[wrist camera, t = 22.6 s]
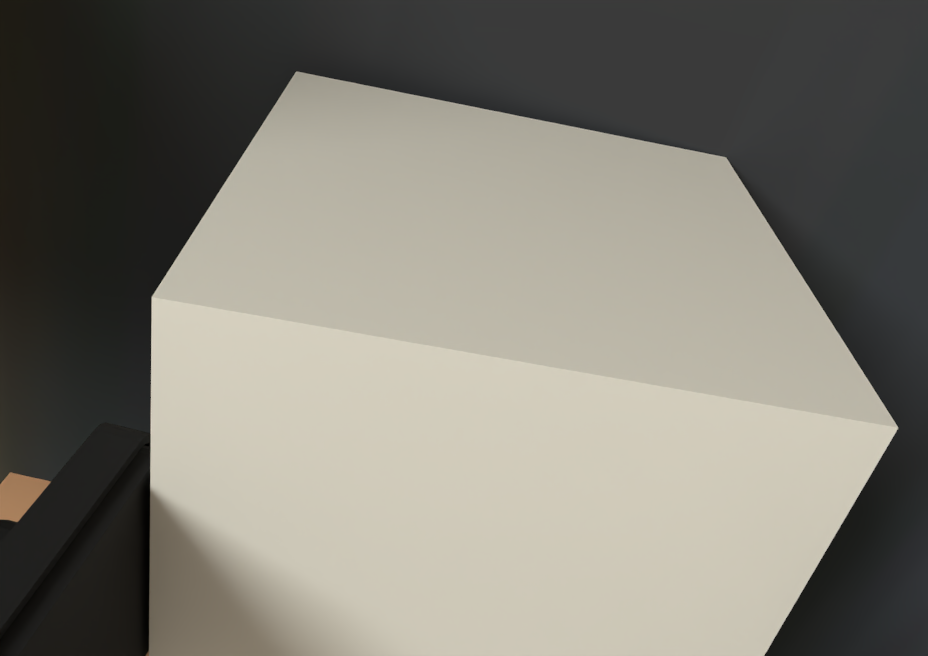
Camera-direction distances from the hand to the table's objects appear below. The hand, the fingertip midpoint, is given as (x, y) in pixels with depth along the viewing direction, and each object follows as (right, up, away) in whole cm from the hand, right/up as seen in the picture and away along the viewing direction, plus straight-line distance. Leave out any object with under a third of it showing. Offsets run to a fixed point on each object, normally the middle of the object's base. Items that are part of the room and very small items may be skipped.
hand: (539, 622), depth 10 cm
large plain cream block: (-1, +4, +6) cm, 7 cm away
